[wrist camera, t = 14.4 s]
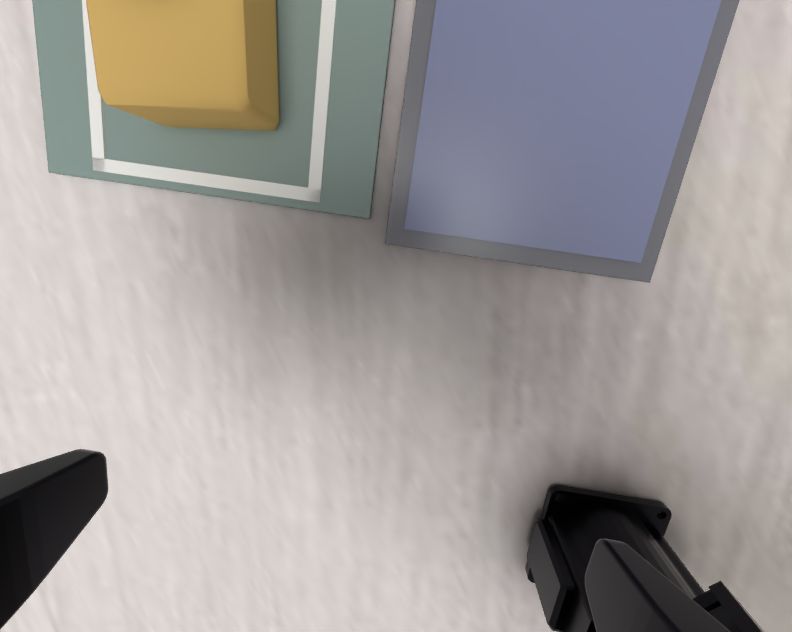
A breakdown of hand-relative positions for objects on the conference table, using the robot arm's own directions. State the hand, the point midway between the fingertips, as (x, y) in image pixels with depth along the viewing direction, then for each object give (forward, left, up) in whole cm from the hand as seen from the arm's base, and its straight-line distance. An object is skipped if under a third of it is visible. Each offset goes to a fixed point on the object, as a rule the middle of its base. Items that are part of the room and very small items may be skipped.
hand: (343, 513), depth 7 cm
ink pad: (-5, -11, -13) cm, 18 cm away
